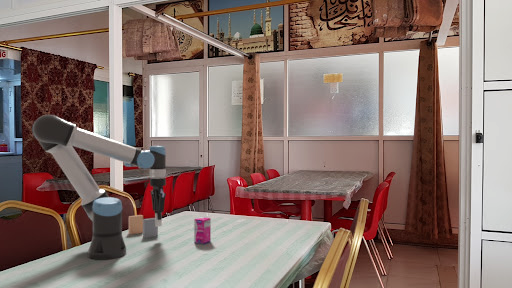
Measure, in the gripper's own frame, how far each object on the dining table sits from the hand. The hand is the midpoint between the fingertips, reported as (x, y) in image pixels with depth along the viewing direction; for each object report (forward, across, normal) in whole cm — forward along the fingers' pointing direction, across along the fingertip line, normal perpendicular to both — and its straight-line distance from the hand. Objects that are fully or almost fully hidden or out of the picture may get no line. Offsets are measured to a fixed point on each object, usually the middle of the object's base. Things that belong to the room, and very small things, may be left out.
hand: (158, 226), depth 192 cm
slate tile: (+7, +9, 0) cm, 11 cm away
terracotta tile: (+7, +21, +3) cm, 22 cm away
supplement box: (+7, -16, -15) cm, 23 cm away
